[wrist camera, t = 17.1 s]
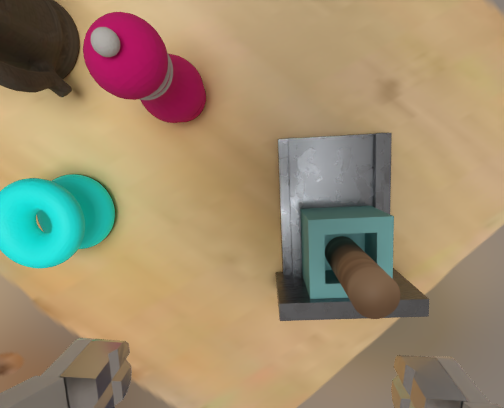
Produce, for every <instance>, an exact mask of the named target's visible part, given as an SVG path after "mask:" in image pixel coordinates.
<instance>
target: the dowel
mask: <svg viewBox="0 0 504 408" xmlns="http://www.w3.org/2000/svg"><path fill="white" fill-rule="evenodd" d="M325 257H326V260H327V261H328V263H329V265H330V267H331V268H332V270H333V272H334V273H335V275H336V277H337V279H338V280H339V282H340V284H341V286H342V287H343V289H344V291H345V292H346V294H347V296H348V298H349V299H350V301H351V303H352V305H353V306H354V308H355V309H356V311H357V312H358V313H359V314H361V315H362V316H364V317H367V318H371V319H379V318H383V317H386V316H388V315H390V314H391V313H392V312H393V311H394V310H395V309H396V308H397V306H398V304H399V302H400V289H399V287H398V285H397V283H396V282H395V281H394V280H393V279H392V278H391V277H390V276H389V275H388V274H387V273H386V272H385V271H384V270H383V269H382V268H381V267H380V266H379V265H378V264H377V263H376V262H375V261H374V260H373V259H372V258H371V257H370V256H368V255H367V254H366V253H365V252H364V251H363V250H362V249H361V248H360V247H359V246H358V245H357V244H356V243H355V242H354V241H353V240H352V239H350V238H348V237H344V236H340V237H336V238H333V239H332V240H331V241H329V243H328V244H327V246H326V248H325Z"/></svg>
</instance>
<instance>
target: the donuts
mask: <svg viewBox="0 0 504 408" xmlns="http://www.w3.org/2000/svg"><path fill="white" fill-rule="evenodd" d="M36 214H37V217H38V221H39V224H40V226H41V228H42V229H43V231H44V232H43V231H42V230H41V229H40V228H39V227H38V225H37V223H36ZM114 220H115V208H114V204H113V201H112V199H111V197H110V195H109V193H108V192H107V190H106V189H105V188H104V187H103V186H102V185H101V184H100V183H98V182H97V181H95V180H94V179H92V178H89V177H87V176H83V175H78V174H70V175H64V176H60V177H58V178H56V179H54V180H52V181H49V180H45V179H39V178H29V179H22V180H18V181H16V182H13V183H11V184H9V185H8V186H6V187H5V188H4V189H2V190H1V191H0V250H1V251H2V252H3V253H4V254H5V255H6V256H7V257H8V258H10V259H11V260H13V261H14V262H16V263H18V264H21V265H23V266H27V267H32V268H48V267H53V266H56V265H59V264H61V263H63V262H65V261H66V260H68V259H69V258H70V257H71V256H72V255H73V254H74V253H75V252H76V251H77V250H78V249H85V248H89V247H92V246H95V245H97V244H98V243H100V242H101V241H103V240H104V239H105V238H106V237H107V235H108V234H109V233H110V231H111V229H112V227H113V224H114Z"/></svg>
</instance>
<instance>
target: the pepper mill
mask: <svg viewBox="0 0 504 408" xmlns="http://www.w3.org/2000/svg"><path fill="white" fill-rule="evenodd" d="M83 53H84V59H85V63H86V66H87V68H88V70H89V72H90V74H91V75H92V77H93V78H94V80H95V81H96V82H97V83H98V84H99V85H100V86H101V87H102V88H103V89H105V90H106V91H107V92H109V93H111V94H113V95H115V96H117V97H120V98H124V99H133V100H135V99H140V100H141V102H142V104H143V105H144V106H145V108H146V109H147V111H149V112H150V113H151V114H152V115H153V116H155V117H156V118H158V119H160V120H162V121H165V122H170V123H177V122H187V121H191V120H193V119H195V118H196V117H197V116H198V115H199V114H200V113H201V112H202V110H203V108H204V105H205V102H206V93H205V89H204V86H203V82H202V79H201V76H200V74H199V73H198V71H197V70H196V68H195V67H194V66H193V65H192V64H191V63H189V62H188V61H187V60H185V59H184V58H182V57H180V56H176V55H172V54H168V53H167V51H166V47H165V44H164V42H163V41H162V39H161V37H160V36H159V34H158V33H157V31H156V30H155V29H154V28H153V27H152V26H151V25H150V24H149V23H147V22H146V21H145V20H143V19H141V18H139V17H138V16H135V15H133V14H130V13H123V12H113V13H109V14H106V15H104V16H102V17H100V18H98V19H97V20H96V21H95V22H94V23H93V24H92V25H91V26H90V28H89V30H88V31H87V33H86V36H85V39H84V46H83Z"/></svg>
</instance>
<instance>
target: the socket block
mask: <svg viewBox="0 0 504 408" xmlns="http://www.w3.org/2000/svg"><path fill="white" fill-rule="evenodd" d="M300 215H301V250H302V276H303V279H304V282H305V285H306V288H307V291H308V294H309V297H310V299H324V298H348V296H347V294H346V292H345V291H344V289H343V287H342V286H341V284H340V282H339V280H338V279H337V277H336V275H335V273H334V272H333V270H332V268H331V267H330V265H329V263H328V261H327V260H326V257H325V248H326V246H327V244H328V243H329V241H331V240H332V239H333V238H336V237H340V236H344V237H348V238H350V239H352V240H353V241H354V242H355V243H356V244H357V245H358V246H359V247H360V248H361V249H362V250H363V251H364V252H365V253H366V254H367V255H368V256H370V257H371V258H372V259H373V260H374V261H375V262H376V263H377V264H378V265H379V266H380V267H381V268H382V269H383V270H384V271H385V272H386V273H387V274H388V275H389V276H390V277H391V278H392V279H393V229H394V216H392V215H390V214H388V213H386V212H383V211H381V210H379V209H377V208H375V207H373V206H351V207H330V208H308V209H300Z"/></svg>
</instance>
